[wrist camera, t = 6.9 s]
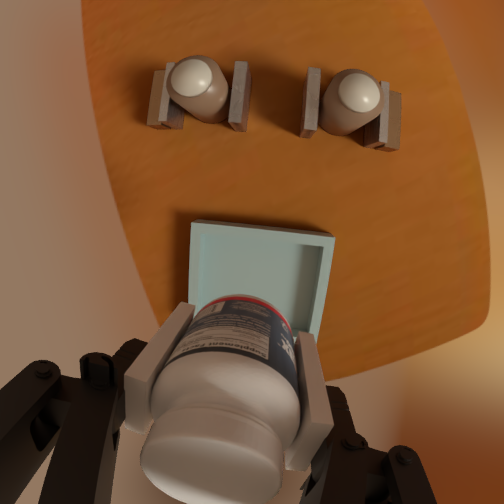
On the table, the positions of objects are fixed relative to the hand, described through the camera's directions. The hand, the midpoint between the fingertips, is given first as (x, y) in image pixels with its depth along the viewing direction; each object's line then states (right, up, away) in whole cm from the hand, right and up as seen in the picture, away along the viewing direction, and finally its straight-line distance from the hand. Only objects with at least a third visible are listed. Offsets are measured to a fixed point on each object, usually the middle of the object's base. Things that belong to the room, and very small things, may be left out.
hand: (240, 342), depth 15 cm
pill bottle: (0, 0, +1) cm, 0 cm away
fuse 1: (-3, +20, +14) cm, 25 cm away
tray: (+1, +1, +18) cm, 18 cm away
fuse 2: (+9, +19, +13) cm, 25 cm away
